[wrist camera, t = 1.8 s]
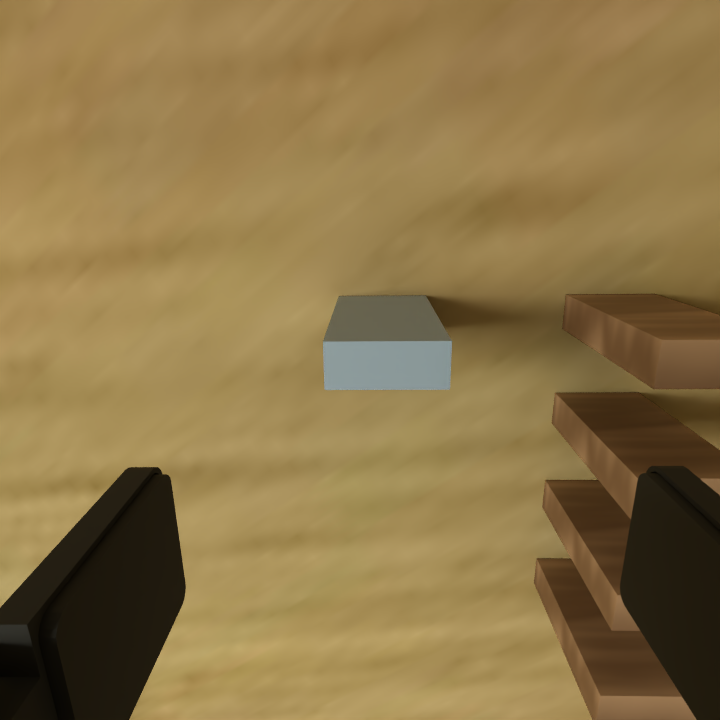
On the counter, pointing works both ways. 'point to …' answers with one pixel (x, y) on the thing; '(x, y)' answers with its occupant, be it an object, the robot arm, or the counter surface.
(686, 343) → the domino
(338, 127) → the counter surface
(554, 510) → the domino
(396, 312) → the domino
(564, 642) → the domino
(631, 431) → the domino
